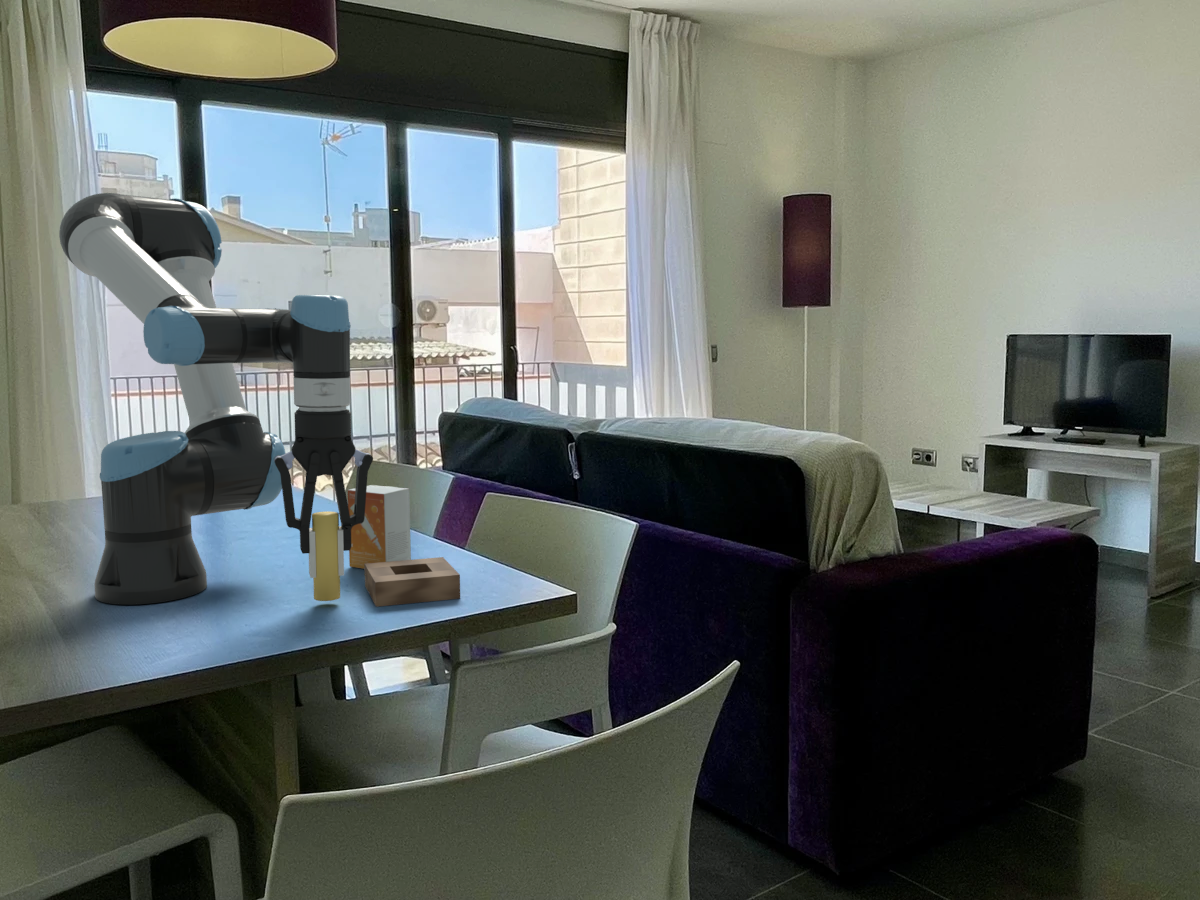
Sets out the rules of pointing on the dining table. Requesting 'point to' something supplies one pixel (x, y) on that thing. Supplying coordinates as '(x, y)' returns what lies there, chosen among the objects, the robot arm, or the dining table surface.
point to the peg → (326, 556)
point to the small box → (381, 527)
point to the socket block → (411, 581)
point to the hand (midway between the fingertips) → (326, 573)
